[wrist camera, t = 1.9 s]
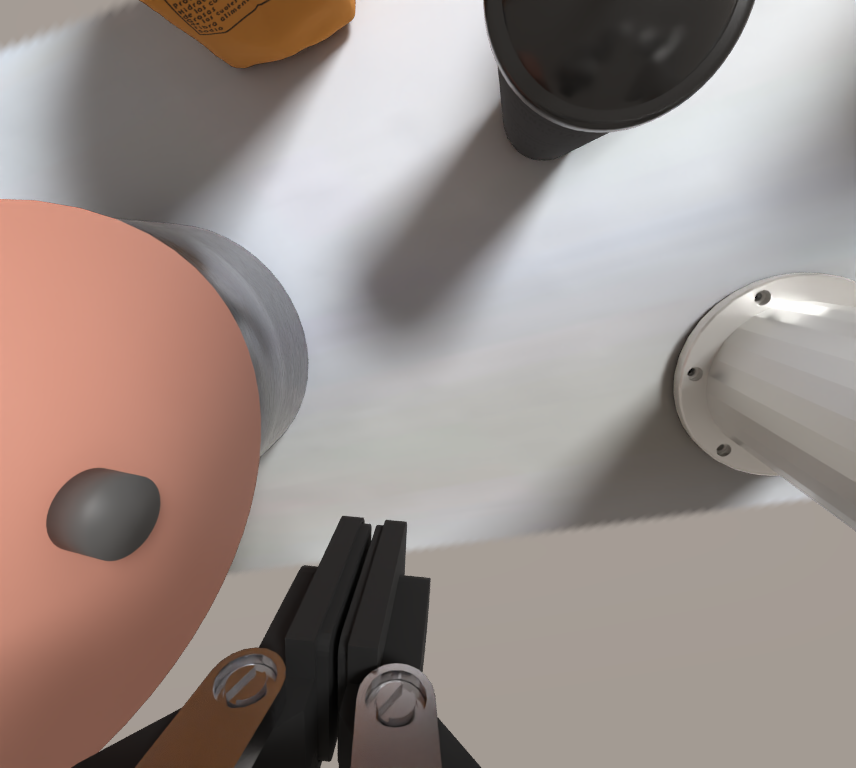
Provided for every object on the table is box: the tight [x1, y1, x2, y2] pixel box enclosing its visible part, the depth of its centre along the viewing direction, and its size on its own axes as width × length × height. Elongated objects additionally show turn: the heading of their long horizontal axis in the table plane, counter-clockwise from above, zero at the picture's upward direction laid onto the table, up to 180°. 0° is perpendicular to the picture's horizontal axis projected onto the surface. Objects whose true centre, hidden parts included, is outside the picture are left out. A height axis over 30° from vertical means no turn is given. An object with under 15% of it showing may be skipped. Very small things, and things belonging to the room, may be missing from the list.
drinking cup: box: [483, 0, 755, 160], centre depth 17 cm, size 8×8×20 cm
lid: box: [0, 199, 261, 768], centre depth 14 cm, size 17×17×3 cm
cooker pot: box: [114, 218, 308, 457], centre depth 27 cm, size 18×18×10 cm
